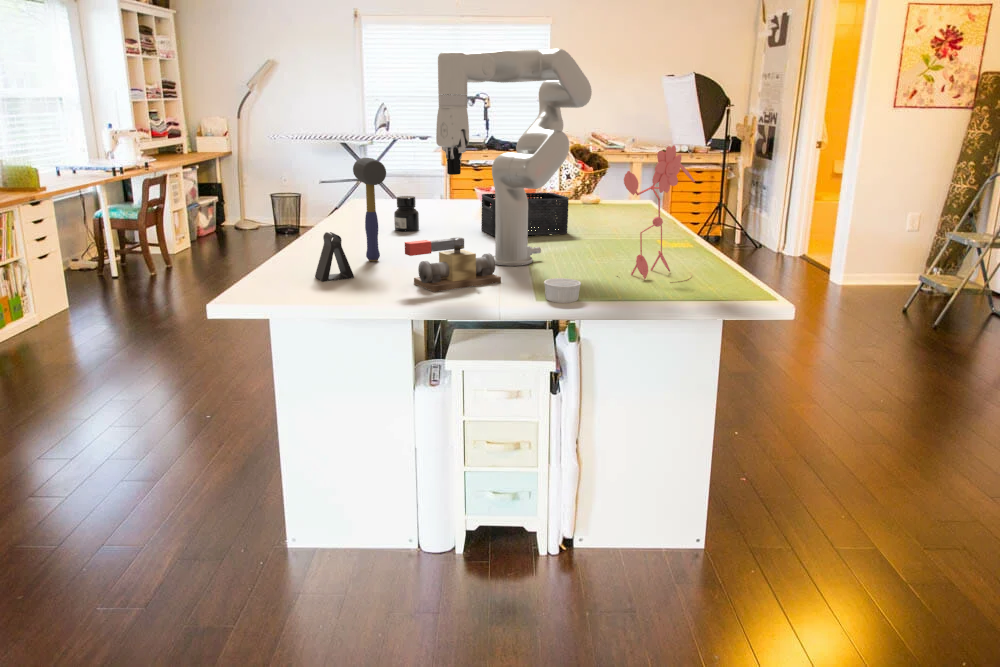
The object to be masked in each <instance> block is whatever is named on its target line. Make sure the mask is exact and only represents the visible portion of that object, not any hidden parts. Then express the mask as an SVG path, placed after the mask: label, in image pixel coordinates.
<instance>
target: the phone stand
mask: <svg viewBox="0 0 1000 667" xmlns="http://www.w3.org/2000/svg"><path fill="white" fill-rule="evenodd" d="M342 245H343V244H342V238H341V236H340V235H338V234H336V233H334V232H330V231H329V232H327V231H326V232H325V233H324V234H323V246H322V249H321V253H320V257H319V259H318V263H317V267H316V271H315V273H314V277H315V278H316V279H318V280H320V281H321V282H325V283H326V282H332V281H338V280H339V281H340V280H349V279H355V274H354V272H353V270H352V268H351V266H350V263H349V261H348V258H347V256H346V254H345V252H344V248H343V246H342ZM334 257H335V261H336V263H337V267H338V270H339V273H331V268H332V262H333V258H334ZM330 273H331V274H330Z"/></svg>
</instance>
